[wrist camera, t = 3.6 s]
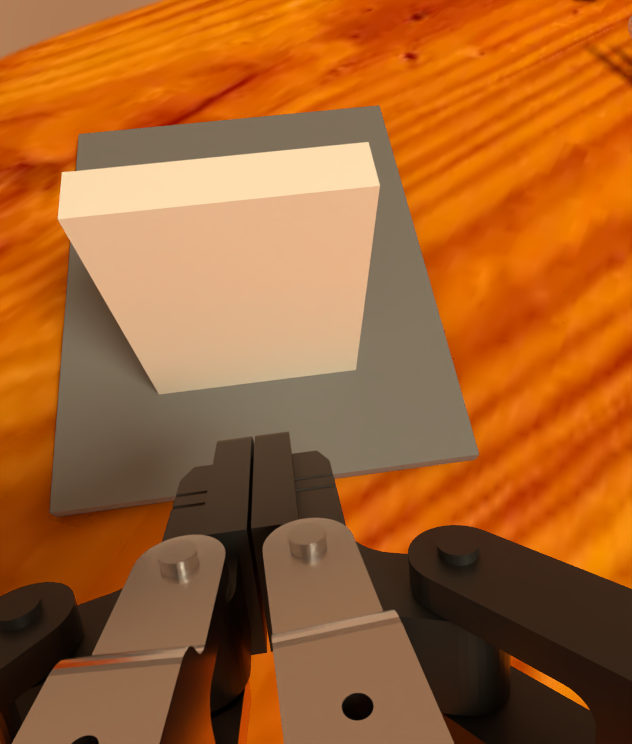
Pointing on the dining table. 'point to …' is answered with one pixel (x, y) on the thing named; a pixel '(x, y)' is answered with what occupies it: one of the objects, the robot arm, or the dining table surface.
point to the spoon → (630, 26)
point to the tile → (231, 260)
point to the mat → (268, 398)
